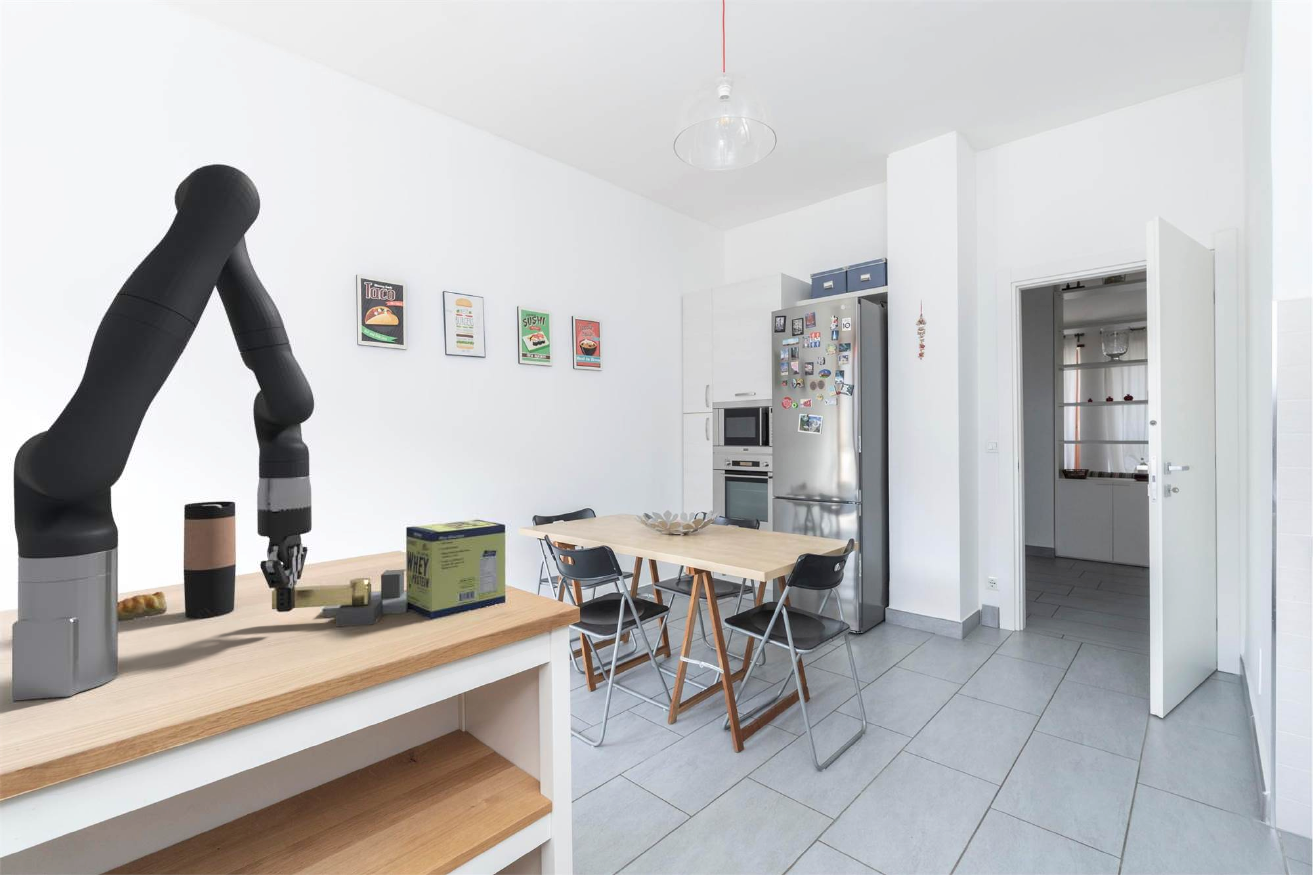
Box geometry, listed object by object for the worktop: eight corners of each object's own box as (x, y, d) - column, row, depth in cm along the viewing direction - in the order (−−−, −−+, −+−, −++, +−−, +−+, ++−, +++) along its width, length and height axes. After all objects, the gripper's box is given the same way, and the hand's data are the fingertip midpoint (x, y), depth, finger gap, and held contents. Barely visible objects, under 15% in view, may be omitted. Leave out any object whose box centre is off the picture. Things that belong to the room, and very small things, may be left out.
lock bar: (372, 599, 106) (372, 571, 106) (367, 604, 103) (367, 575, 103) (278, 604, 103) (278, 575, 103) (270, 609, 100) (271, 580, 100)
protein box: (404, 609, 111) (404, 526, 112) (479, 593, 123) (479, 518, 123) (430, 620, 104) (430, 532, 104) (507, 603, 116) (507, 523, 116)
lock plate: (398, 622, 103) (398, 587, 103) (310, 627, 100) (310, 592, 100) (417, 596, 119) (417, 566, 119) (342, 600, 117) (342, 570, 117)
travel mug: (190, 609, 110) (190, 502, 110) (239, 605, 113) (240, 500, 114) (177, 621, 103) (177, 506, 103) (230, 615, 107) (230, 504, 107)
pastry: (100, 627, 101) (100, 604, 101) (93, 619, 105) (93, 598, 105) (170, 614, 108) (170, 593, 108) (160, 607, 113) (160, 587, 113)
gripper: (276, 501, 103) (277, 600, 103) (239, 510, 90) (240, 624, 90) (323, 499, 104) (324, 598, 104) (294, 509, 91) (295, 621, 91)
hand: (285, 610), depth 97 cm, fingers closed
